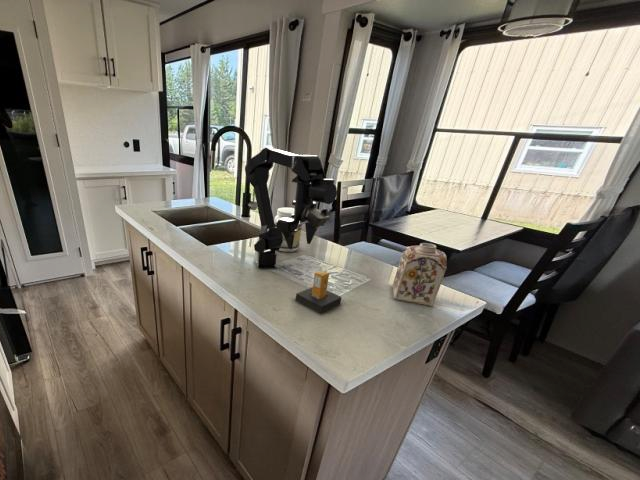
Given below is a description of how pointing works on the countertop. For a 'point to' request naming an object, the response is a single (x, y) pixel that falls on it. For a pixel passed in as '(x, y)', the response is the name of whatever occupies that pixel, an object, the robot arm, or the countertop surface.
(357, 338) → the countertop surface
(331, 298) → the socket pad
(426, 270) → the decorative jar
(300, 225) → the supplement tub
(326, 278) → the supplement box
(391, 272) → the countertop surface
